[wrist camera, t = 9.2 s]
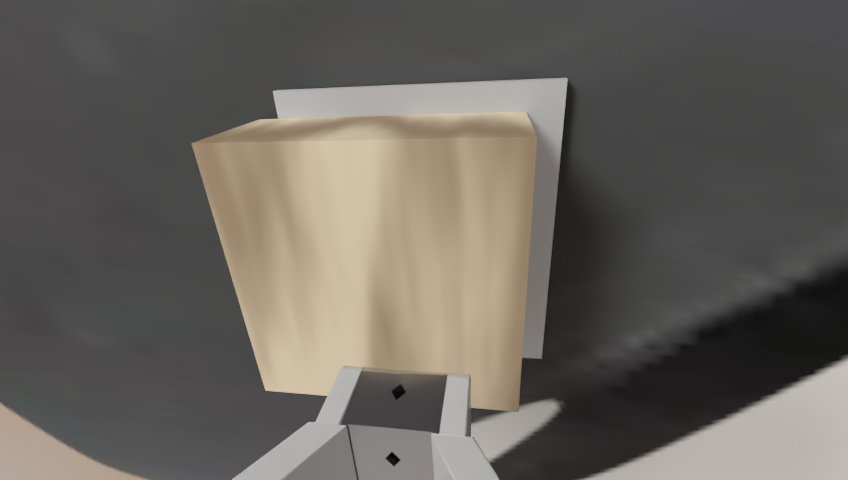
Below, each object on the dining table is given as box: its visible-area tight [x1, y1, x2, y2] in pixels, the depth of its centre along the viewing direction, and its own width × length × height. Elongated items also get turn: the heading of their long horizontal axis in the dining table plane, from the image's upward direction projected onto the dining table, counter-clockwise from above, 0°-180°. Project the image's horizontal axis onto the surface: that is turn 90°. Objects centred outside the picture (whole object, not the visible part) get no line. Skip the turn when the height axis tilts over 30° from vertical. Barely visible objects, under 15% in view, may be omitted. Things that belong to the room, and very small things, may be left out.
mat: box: [273, 78, 568, 359], centre depth 17 cm, size 10×12×1 cm
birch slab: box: [192, 112, 537, 412], centre depth 15 cm, size 4×10×10 cm
